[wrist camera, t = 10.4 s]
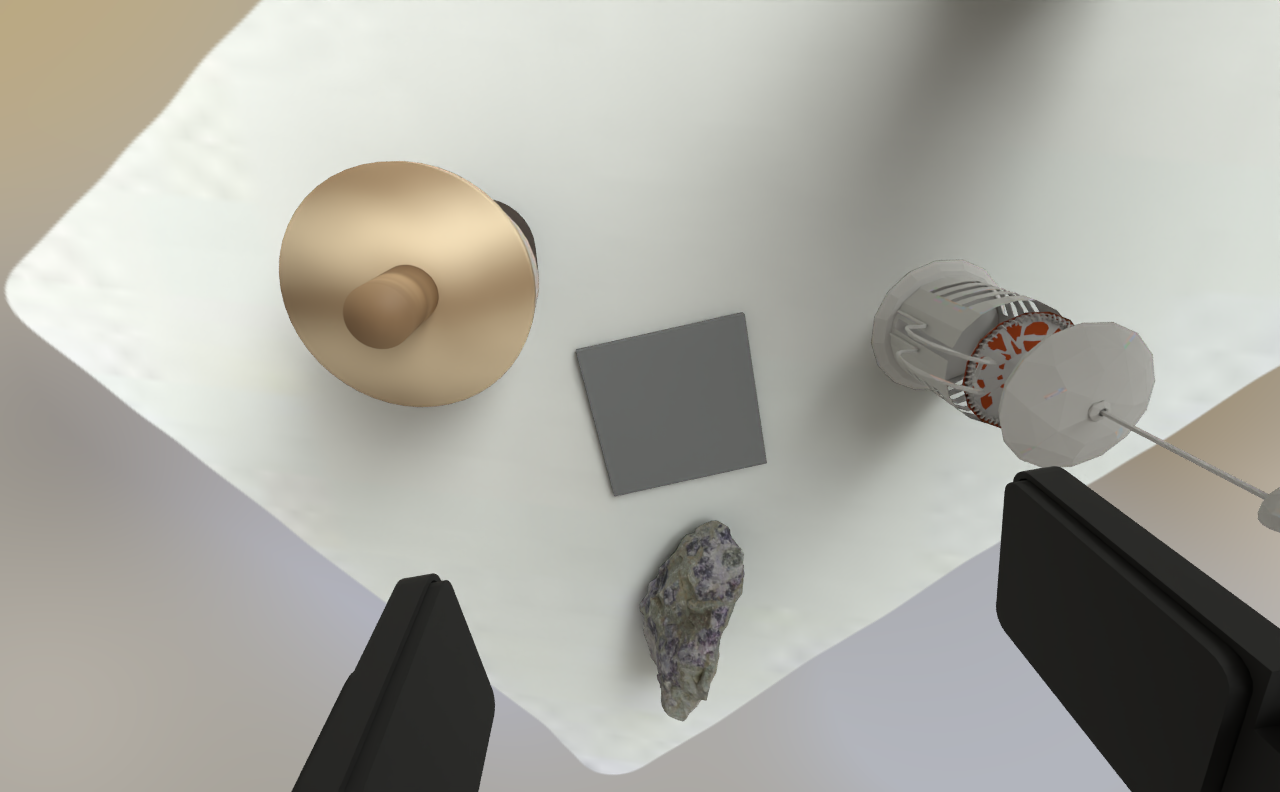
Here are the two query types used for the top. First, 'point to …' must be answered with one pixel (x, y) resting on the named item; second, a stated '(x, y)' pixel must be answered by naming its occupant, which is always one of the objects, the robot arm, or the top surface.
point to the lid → (407, 283)
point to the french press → (1023, 368)
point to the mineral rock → (692, 614)
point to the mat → (675, 403)
